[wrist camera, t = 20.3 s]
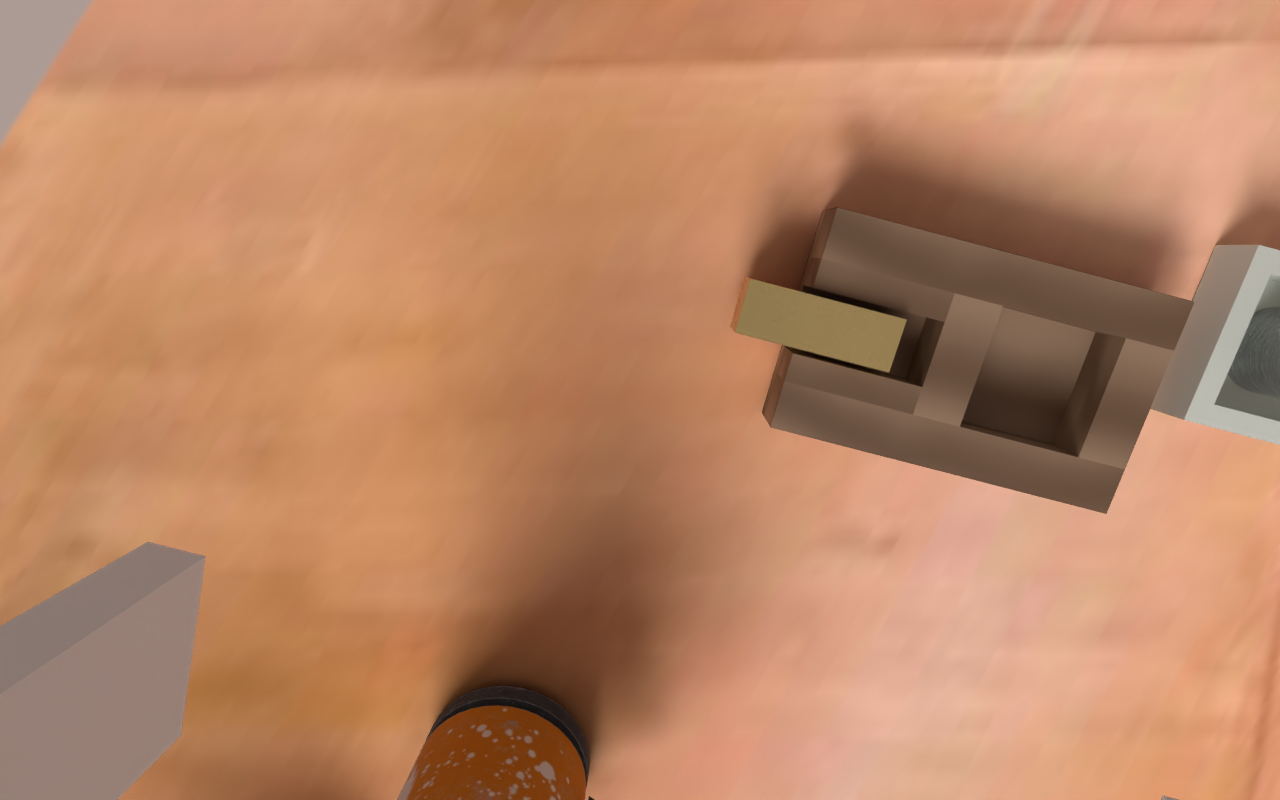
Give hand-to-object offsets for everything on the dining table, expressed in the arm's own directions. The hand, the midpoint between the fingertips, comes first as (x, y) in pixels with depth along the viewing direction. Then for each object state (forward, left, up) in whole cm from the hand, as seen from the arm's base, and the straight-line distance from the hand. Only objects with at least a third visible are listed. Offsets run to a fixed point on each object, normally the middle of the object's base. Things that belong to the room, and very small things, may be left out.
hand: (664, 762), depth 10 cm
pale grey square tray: (-9, +27, -27) cm, 39 cm away
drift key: (-5, +6, -27) cm, 28 cm away
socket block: (-5, +13, -27) cm, 30 cm away
